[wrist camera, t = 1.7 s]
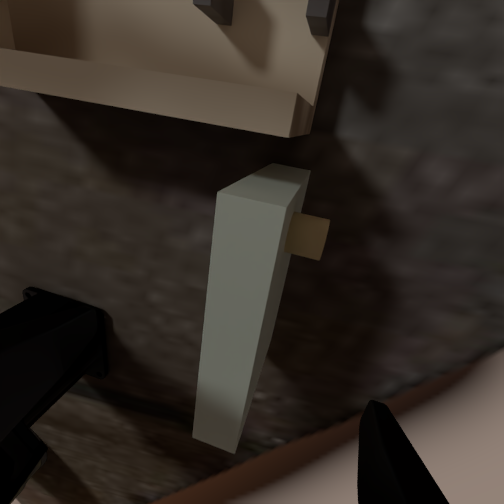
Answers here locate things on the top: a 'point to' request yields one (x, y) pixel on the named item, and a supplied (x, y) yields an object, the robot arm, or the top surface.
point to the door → (248, 291)
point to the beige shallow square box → (175, 57)
